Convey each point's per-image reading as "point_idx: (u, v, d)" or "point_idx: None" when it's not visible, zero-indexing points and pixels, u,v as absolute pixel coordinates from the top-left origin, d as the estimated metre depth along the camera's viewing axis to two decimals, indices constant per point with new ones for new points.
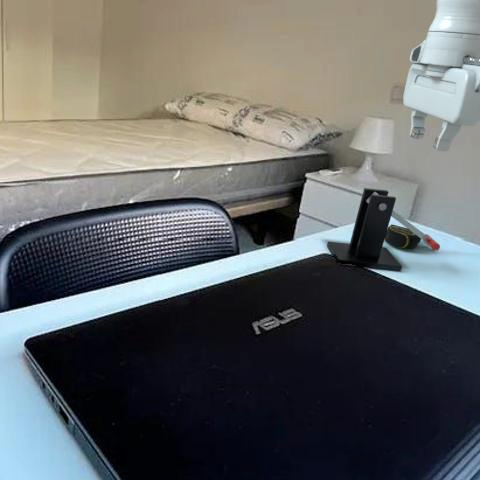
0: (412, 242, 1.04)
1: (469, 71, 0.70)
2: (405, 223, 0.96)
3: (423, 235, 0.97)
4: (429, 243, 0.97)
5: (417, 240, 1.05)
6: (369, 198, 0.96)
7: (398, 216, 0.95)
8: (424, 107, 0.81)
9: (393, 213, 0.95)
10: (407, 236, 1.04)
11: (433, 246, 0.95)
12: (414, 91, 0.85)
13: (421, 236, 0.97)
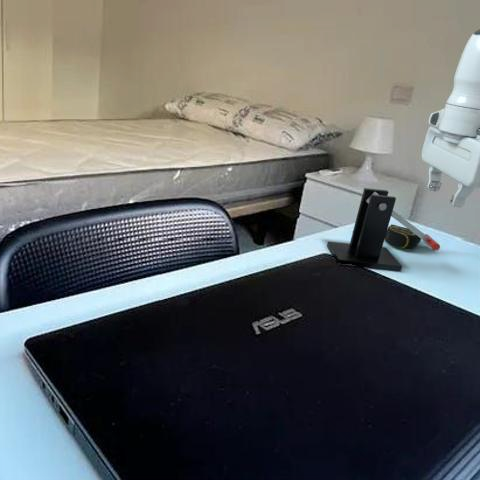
0: (412, 242, 1.04)
1: None
2: (405, 223, 0.96)
3: (423, 235, 0.97)
4: (429, 243, 0.97)
5: (417, 240, 1.05)
6: (369, 198, 0.96)
7: (398, 216, 0.95)
8: (441, 166, 0.92)
9: (393, 213, 0.95)
10: (407, 236, 1.04)
11: (433, 246, 0.95)
12: (432, 150, 0.96)
13: (421, 236, 0.97)
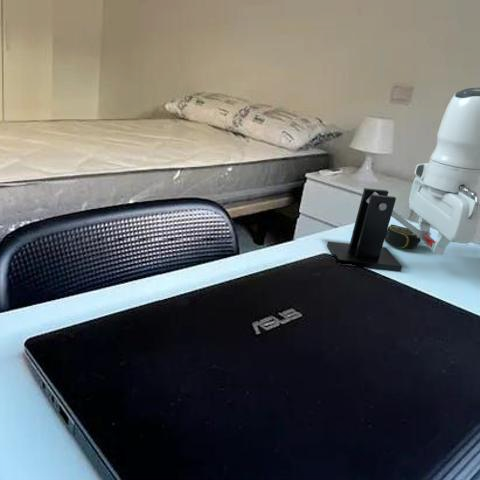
0: (412, 242, 1.04)
1: (463, 201, 0.86)
2: (405, 223, 0.96)
3: (423, 235, 0.97)
4: (429, 243, 0.97)
5: (417, 240, 1.05)
6: (369, 198, 0.96)
7: (398, 216, 0.95)
8: (426, 217, 0.96)
9: (393, 213, 0.95)
10: (407, 236, 1.04)
11: None
12: (418, 199, 1.00)
13: (421, 236, 0.97)
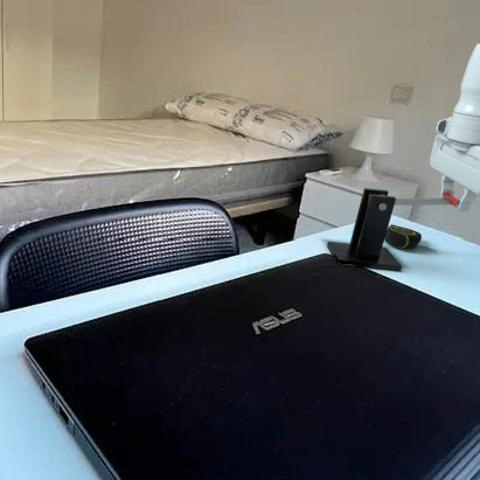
0: (412, 242, 1.04)
1: None
2: (416, 202, 0.94)
3: (441, 201, 0.94)
4: (452, 204, 0.93)
5: (417, 240, 1.05)
6: None
7: (405, 201, 0.94)
8: (450, 174, 0.93)
9: (398, 202, 0.94)
10: (407, 236, 1.04)
11: None
12: (441, 157, 0.97)
13: (440, 203, 0.94)
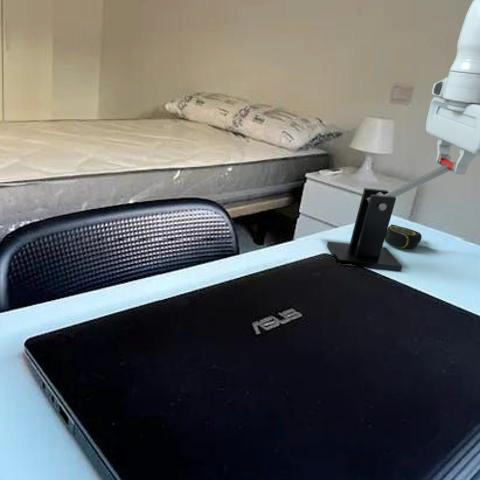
0: (412, 242, 1.04)
1: None
2: (414, 184, 0.93)
3: (438, 172, 0.92)
4: (450, 170, 0.91)
5: (417, 240, 1.05)
6: None
7: (403, 189, 0.93)
8: (446, 136, 0.90)
9: (397, 192, 0.94)
10: (407, 236, 1.04)
11: None
12: (437, 121, 0.94)
13: (438, 174, 0.92)
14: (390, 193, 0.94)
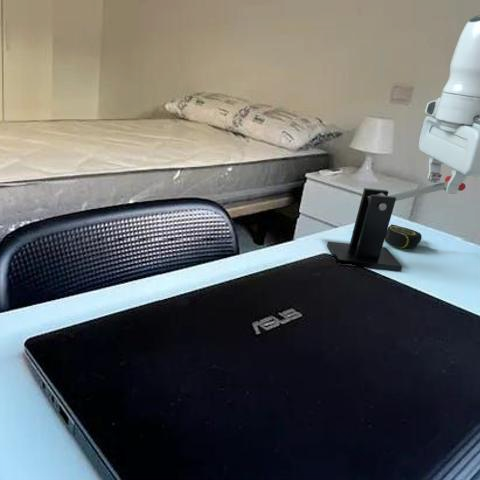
0: (412, 242, 1.04)
1: (479, 130, 0.81)
2: (416, 193, 0.93)
3: (442, 186, 0.93)
4: None
5: (417, 240, 1.05)
6: None
7: (405, 195, 0.94)
8: (438, 156, 0.92)
9: (398, 197, 0.94)
10: (407, 236, 1.04)
11: None
12: (429, 140, 0.96)
13: (441, 188, 0.93)
14: (392, 196, 0.94)
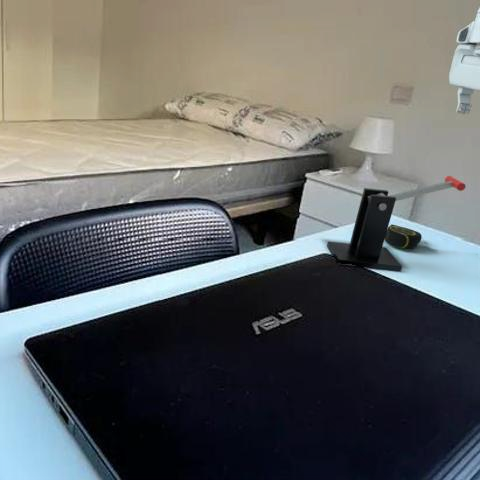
0: (412, 242, 1.04)
1: None
2: (416, 193, 0.93)
3: (442, 186, 0.93)
4: (454, 187, 0.92)
5: (417, 240, 1.05)
6: None
7: (405, 195, 0.94)
8: (472, 83, 0.87)
9: (398, 197, 0.94)
10: (407, 236, 1.04)
11: (458, 188, 0.91)
12: (461, 70, 0.91)
13: (441, 188, 0.93)
14: (392, 196, 0.94)
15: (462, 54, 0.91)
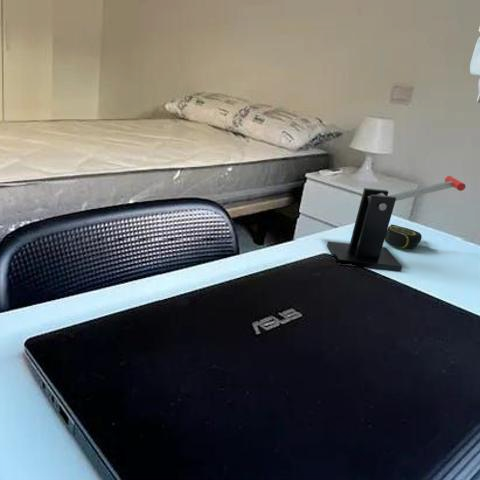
0: (412, 242, 1.04)
1: None
2: (416, 193, 0.93)
3: (442, 186, 0.93)
4: (454, 187, 0.92)
5: (417, 240, 1.05)
6: None
7: (405, 195, 0.94)
8: None
9: (398, 197, 0.94)
10: (407, 236, 1.04)
11: (458, 188, 0.91)
12: None
13: (441, 188, 0.93)
14: (392, 196, 0.94)
15: None
